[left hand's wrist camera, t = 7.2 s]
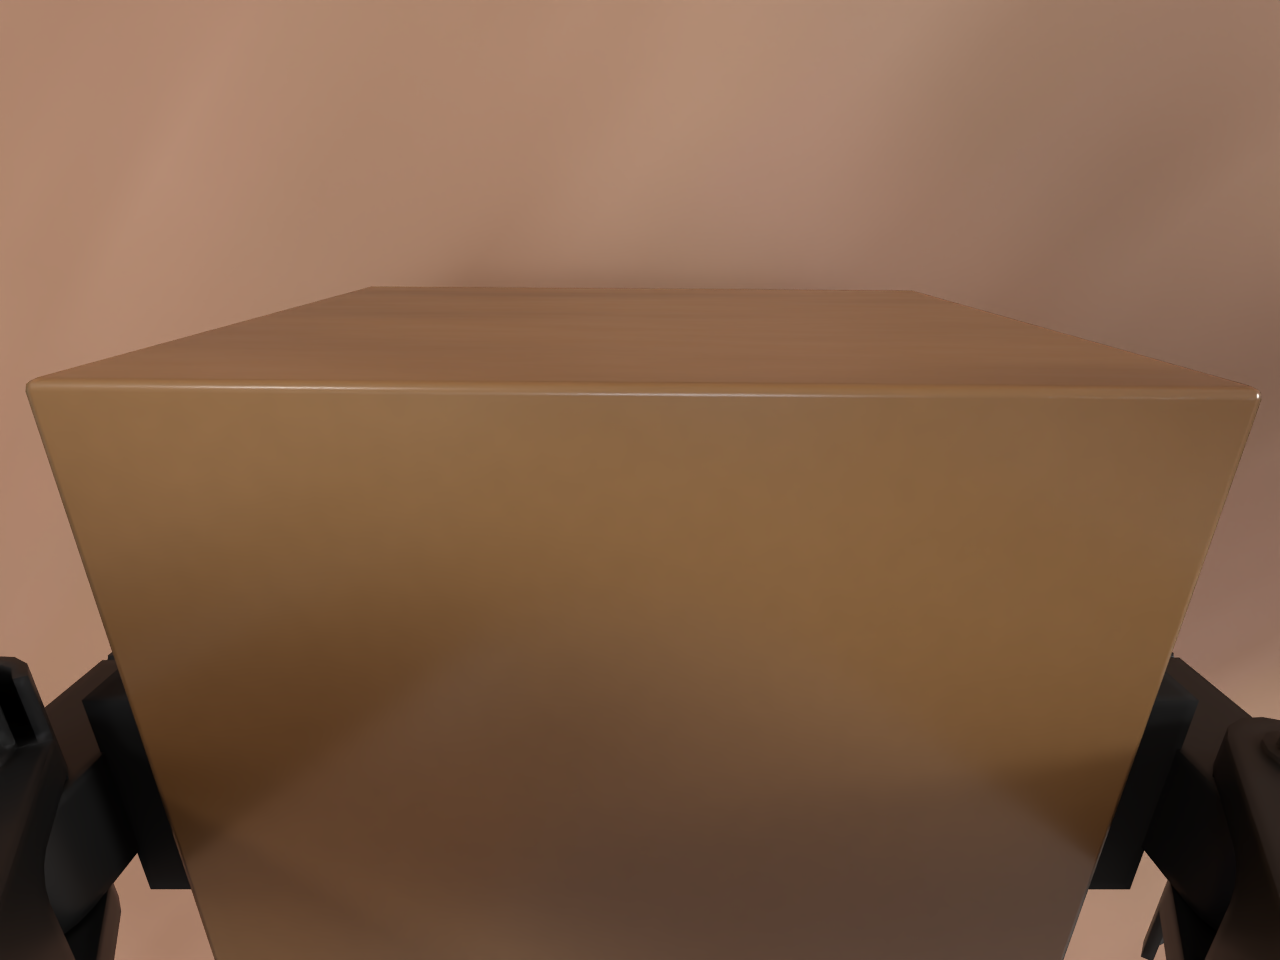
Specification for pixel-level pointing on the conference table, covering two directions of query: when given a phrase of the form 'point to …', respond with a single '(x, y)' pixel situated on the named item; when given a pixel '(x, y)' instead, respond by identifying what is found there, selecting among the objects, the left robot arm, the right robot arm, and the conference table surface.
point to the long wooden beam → (640, 615)
